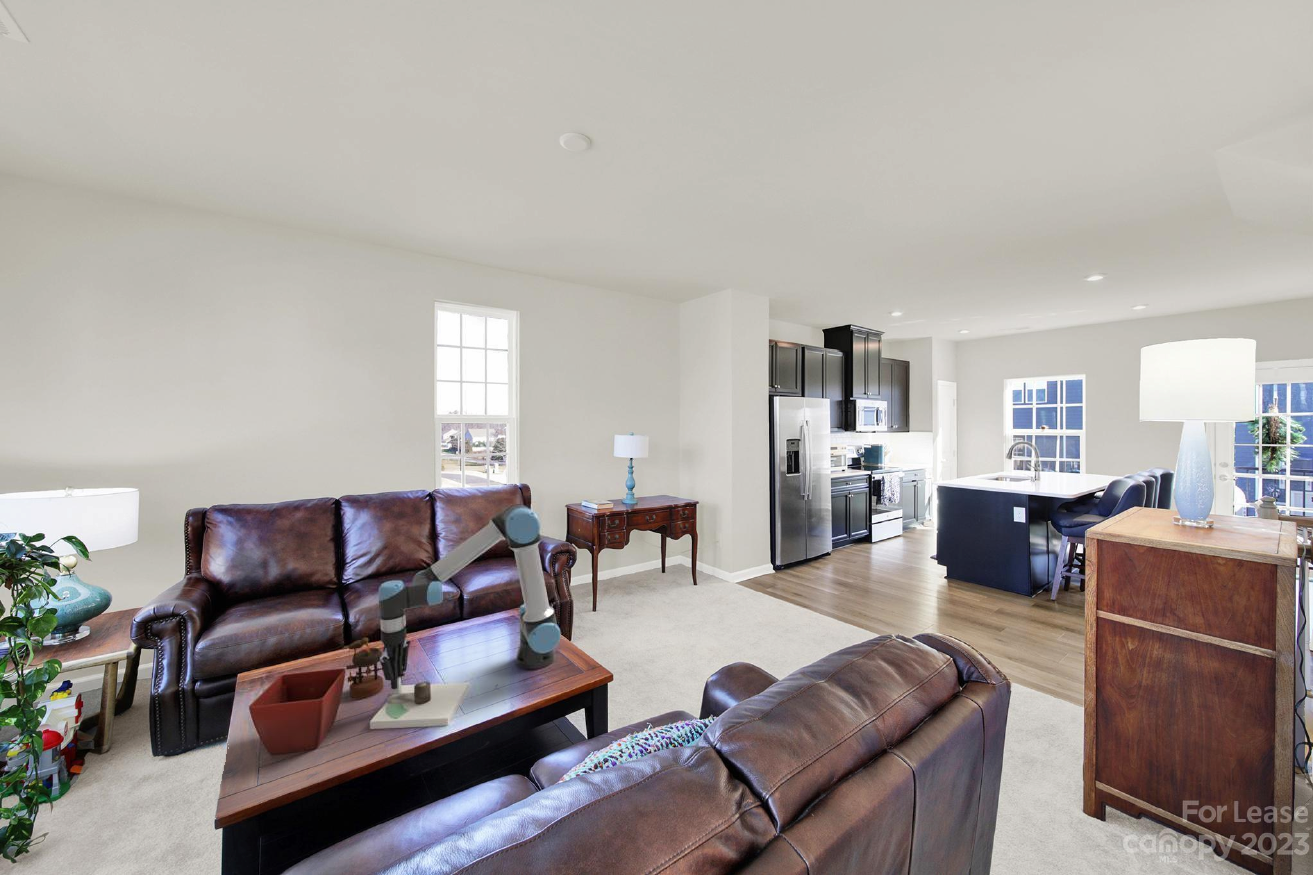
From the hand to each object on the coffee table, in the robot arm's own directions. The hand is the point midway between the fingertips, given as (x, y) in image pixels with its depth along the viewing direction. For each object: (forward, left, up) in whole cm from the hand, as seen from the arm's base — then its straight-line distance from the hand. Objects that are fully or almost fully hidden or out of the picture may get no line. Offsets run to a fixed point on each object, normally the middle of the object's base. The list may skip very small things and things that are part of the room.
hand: (397, 696), depth 175 cm
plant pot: (+21, +16, -4) cm, 27 cm away
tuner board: (-9, +1, -4) cm, 10 cm away
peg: (-5, +1, -1) cm, 5 cm away
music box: (+15, -12, -4) cm, 20 cm away
